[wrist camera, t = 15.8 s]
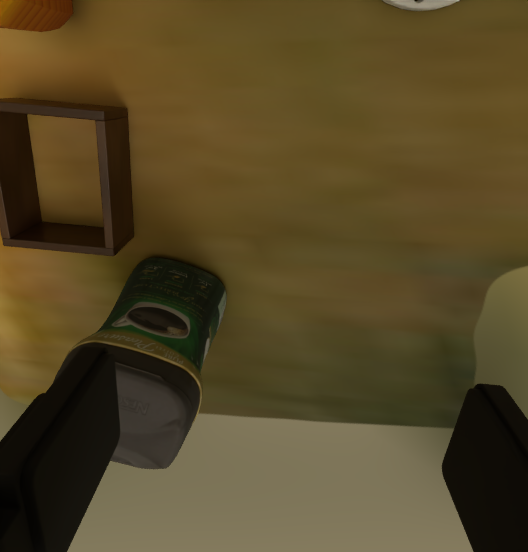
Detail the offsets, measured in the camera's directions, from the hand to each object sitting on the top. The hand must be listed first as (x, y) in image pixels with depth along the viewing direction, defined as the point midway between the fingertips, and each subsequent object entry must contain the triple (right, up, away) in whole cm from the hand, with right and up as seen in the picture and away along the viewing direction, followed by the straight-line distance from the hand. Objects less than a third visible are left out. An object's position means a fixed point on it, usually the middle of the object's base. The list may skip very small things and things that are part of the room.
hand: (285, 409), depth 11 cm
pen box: (-17, +13, +26) cm, 34 cm away
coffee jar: (-9, +2, +31) cm, 32 cm away
